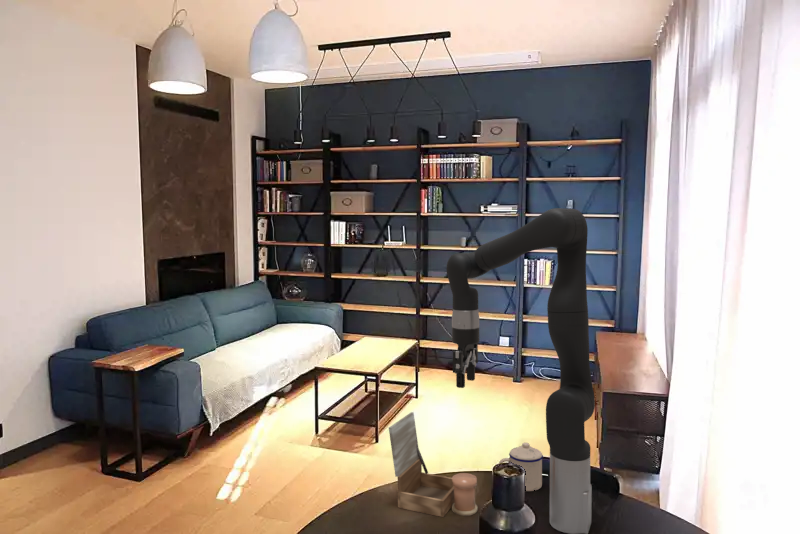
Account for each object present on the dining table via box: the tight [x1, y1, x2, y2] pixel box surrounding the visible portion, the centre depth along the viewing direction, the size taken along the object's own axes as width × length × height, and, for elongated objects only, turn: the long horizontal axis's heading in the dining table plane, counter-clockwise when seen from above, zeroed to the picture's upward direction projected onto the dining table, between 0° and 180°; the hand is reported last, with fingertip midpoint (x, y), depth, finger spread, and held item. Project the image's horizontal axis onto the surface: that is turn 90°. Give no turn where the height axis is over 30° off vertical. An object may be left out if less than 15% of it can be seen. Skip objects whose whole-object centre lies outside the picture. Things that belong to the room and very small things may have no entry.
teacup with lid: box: [498, 442, 544, 492], centre depth 161 cm, size 12×9×12 cm
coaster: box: [451, 503, 478, 517], centre depth 147 cm, size 6×6×1 cm
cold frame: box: [388, 411, 454, 518], centre depth 152 cm, size 15×14×20 cm
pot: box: [451, 472, 478, 511], centre depth 147 cm, size 6×6×7 cm
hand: (465, 383), depth 161 cm, fingers open, 8 cm apart
